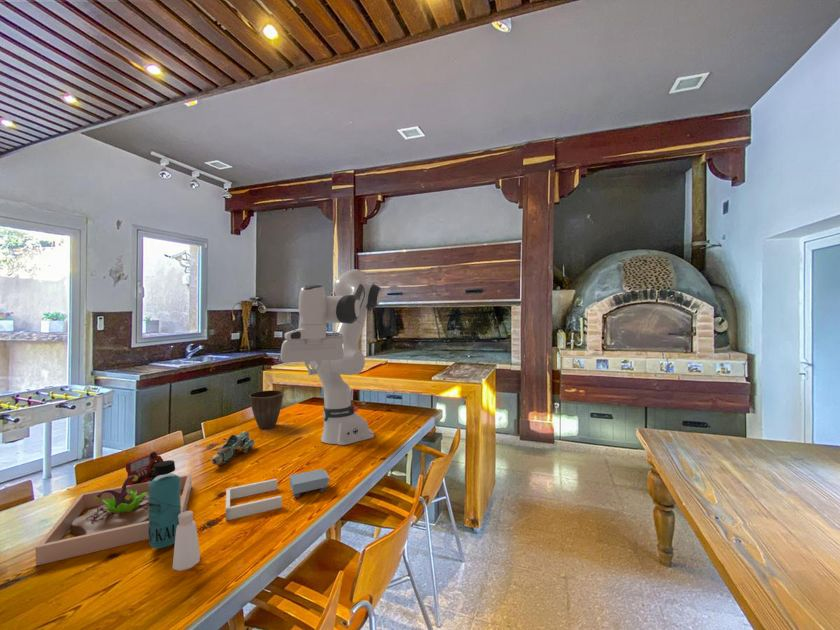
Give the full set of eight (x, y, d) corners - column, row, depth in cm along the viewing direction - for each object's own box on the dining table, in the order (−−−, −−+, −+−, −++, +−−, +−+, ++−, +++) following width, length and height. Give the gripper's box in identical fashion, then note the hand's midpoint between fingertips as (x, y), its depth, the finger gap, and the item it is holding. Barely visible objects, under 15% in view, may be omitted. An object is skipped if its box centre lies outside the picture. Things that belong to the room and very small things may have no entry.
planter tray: (191, 486, 118) (191, 474, 118) (181, 531, 94) (180, 515, 94) (80, 508, 106) (80, 494, 106) (35, 565, 81) (35, 547, 81)
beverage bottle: (159, 539, 91) (157, 457, 90) (188, 537, 91) (186, 456, 91) (141, 556, 84) (140, 469, 84) (172, 554, 85) (170, 467, 84)
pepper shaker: (192, 570, 79) (191, 519, 79) (166, 572, 79) (165, 520, 79) (205, 553, 85) (204, 506, 85) (180, 555, 84) (179, 507, 84)
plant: (183, 512, 103) (183, 472, 103) (95, 552, 87) (94, 504, 86) (148, 494, 113) (147, 458, 113) (63, 527, 97) (62, 484, 96)
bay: (276, 488, 116) (276, 478, 116) (281, 507, 105) (281, 496, 105) (226, 498, 110) (226, 488, 110) (225, 520, 98) (225, 509, 98)
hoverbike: (258, 445, 154) (258, 425, 154) (227, 471, 129) (226, 447, 129) (236, 445, 154) (235, 425, 154) (199, 471, 129) (199, 447, 129)
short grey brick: (325, 481, 120) (324, 468, 120) (330, 491, 114) (329, 476, 114) (289, 489, 115) (289, 475, 115) (293, 499, 109) (293, 484, 109)
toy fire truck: (173, 479, 123) (173, 448, 123) (137, 498, 111) (136, 463, 111) (156, 477, 125) (156, 446, 125) (119, 495, 113) (118, 461, 113)
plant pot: (276, 431, 171) (275, 397, 171) (244, 432, 171) (243, 397, 171) (288, 422, 186) (287, 390, 186) (258, 422, 186) (257, 390, 186)
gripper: (341, 332, 131) (341, 371, 131) (279, 333, 122) (280, 375, 122) (345, 332, 126) (346, 373, 126) (281, 334, 117) (282, 378, 117)
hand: (313, 374), depth 124 cm, fingers closed
